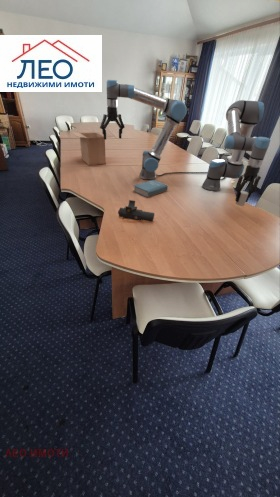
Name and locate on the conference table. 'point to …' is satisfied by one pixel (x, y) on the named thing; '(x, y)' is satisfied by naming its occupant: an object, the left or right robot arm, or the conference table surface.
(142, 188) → the book
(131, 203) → the laser sight
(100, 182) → the conference table surface
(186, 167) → the conference table surface
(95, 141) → the box
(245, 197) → the can
